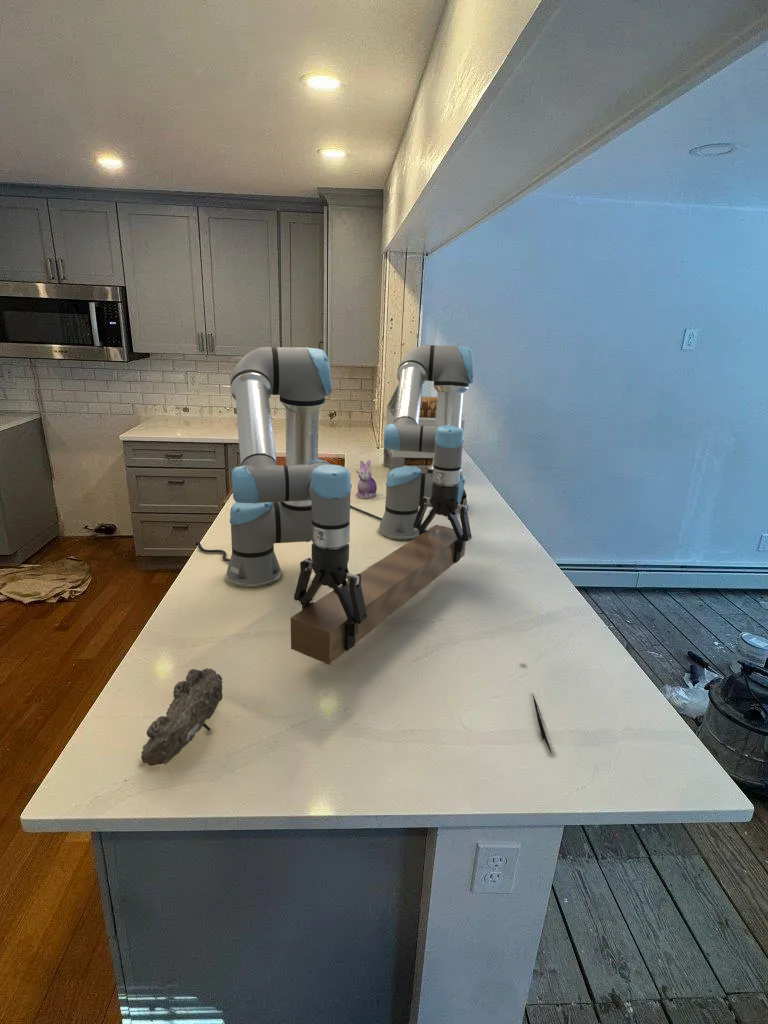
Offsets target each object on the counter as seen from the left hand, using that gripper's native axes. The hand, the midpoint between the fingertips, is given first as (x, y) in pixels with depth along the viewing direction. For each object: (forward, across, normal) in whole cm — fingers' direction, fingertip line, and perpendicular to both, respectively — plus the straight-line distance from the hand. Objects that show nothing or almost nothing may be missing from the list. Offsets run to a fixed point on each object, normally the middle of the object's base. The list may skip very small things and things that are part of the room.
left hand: (329, 639), depth 121 cm
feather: (+8, +41, +15) cm, 44 cm away
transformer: (+8, -60, +152) cm, 164 cm away
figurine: (+8, -61, +107) cm, 123 cm away
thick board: (+1, 0, +27) cm, 27 cm away
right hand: (0, 0, +53) cm, 53 cm away
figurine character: (+8, -24, +117) cm, 120 cm away
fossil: (+8, -10, -29) cm, 32 cm away
